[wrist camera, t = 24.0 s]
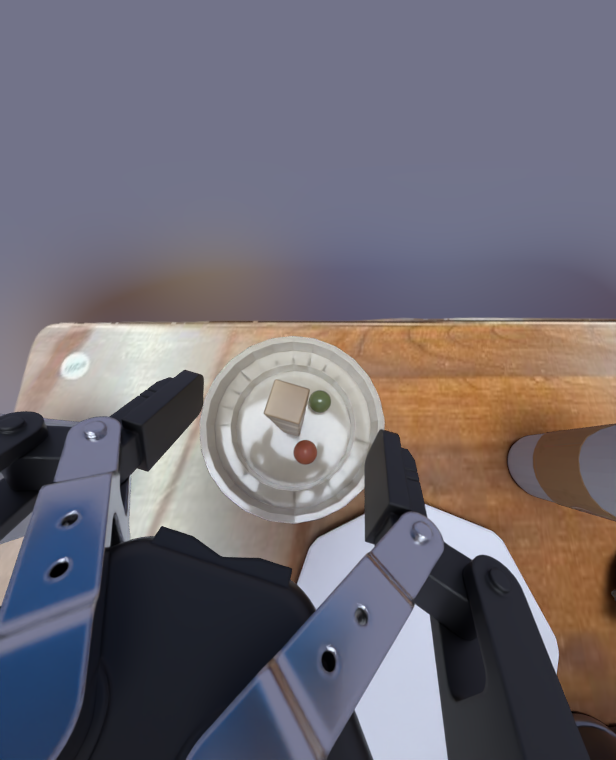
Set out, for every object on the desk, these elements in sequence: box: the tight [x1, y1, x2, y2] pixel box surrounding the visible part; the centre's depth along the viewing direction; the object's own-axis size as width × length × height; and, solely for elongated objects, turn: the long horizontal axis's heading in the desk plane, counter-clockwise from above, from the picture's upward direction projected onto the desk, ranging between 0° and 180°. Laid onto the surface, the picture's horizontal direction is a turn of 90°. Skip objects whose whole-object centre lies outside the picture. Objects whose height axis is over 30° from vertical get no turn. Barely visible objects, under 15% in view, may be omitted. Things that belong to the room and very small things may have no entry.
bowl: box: [200, 336, 385, 524], centre depth 26 cm, size 16×16×6 cm
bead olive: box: [308, 390, 331, 413], centre depth 28 cm, size 2×2×2 cm
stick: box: [264, 379, 310, 436], centre depth 20 cm, size 2×2×16 cm
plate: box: [297, 504, 559, 760], centre depth 24 cm, size 24×24×2 cm
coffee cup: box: [508, 424, 616, 521], centre depth 21 cm, size 8×8×15 cm
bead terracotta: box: [293, 440, 317, 465], centre depth 26 cm, size 2×2×2 cm
